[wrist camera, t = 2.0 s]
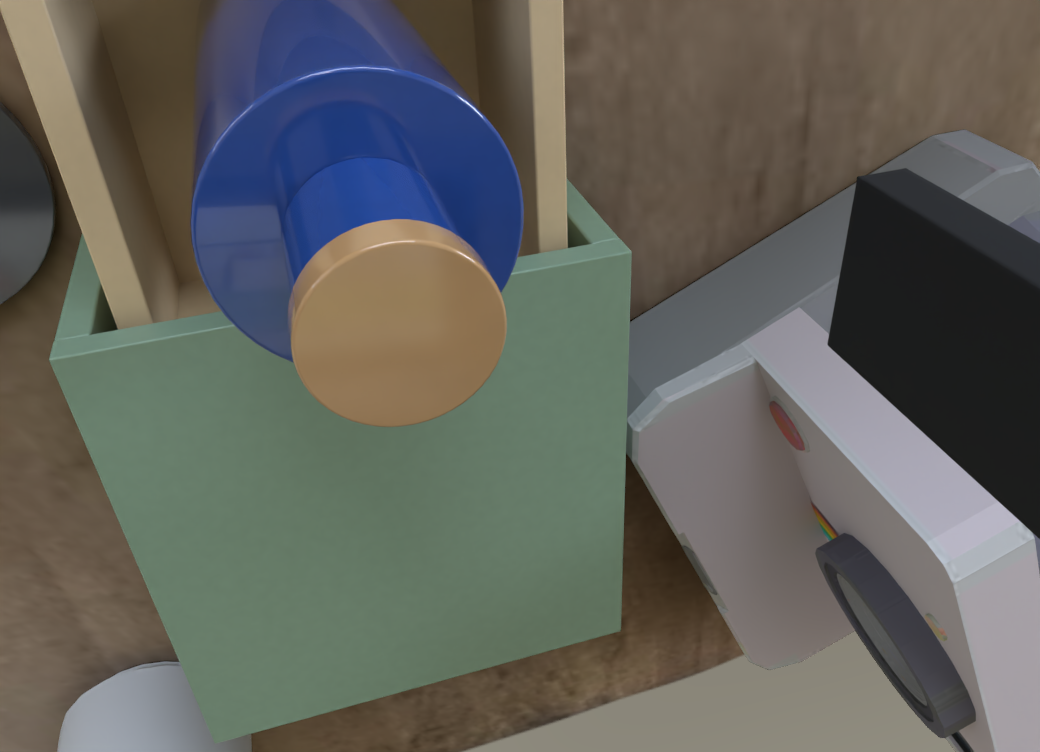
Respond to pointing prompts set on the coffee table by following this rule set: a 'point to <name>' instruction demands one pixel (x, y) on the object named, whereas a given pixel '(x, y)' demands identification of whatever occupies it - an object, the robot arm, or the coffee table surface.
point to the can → (142, 716)
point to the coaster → (22, 206)
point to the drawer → (169, 124)
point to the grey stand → (839, 474)
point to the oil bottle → (351, 204)
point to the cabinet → (364, 495)
